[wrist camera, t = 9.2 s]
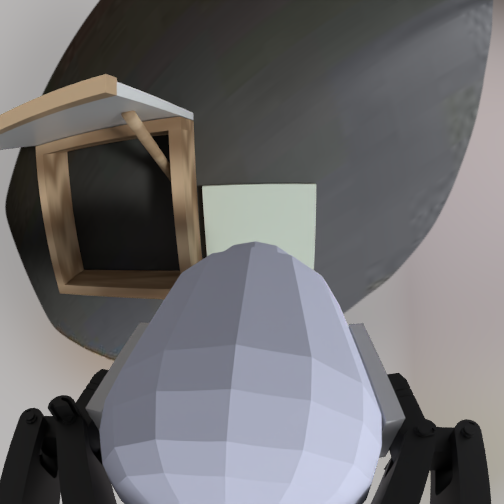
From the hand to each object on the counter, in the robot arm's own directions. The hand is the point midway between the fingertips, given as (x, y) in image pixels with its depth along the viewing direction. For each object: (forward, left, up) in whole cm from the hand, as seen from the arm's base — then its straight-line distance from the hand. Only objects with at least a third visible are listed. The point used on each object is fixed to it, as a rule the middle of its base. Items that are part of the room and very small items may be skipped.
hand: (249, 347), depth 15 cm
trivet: (0, 0, -19) cm, 19 cm away
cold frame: (-4, -16, -19) cm, 26 cm away
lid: (-14, -16, -19) cm, 29 cm away
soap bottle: (0, 0, -7) cm, 7 cm away
